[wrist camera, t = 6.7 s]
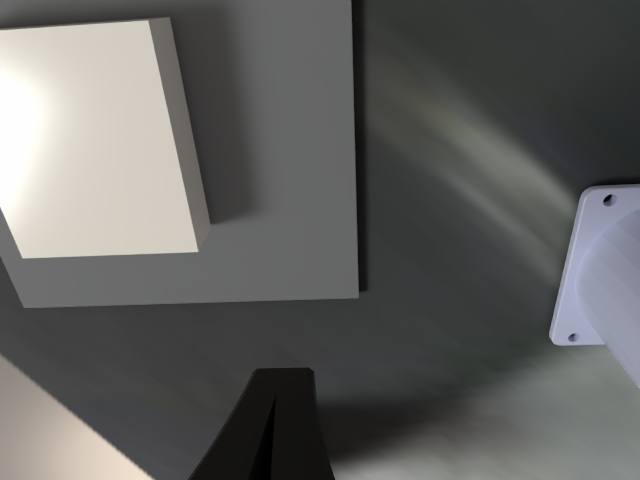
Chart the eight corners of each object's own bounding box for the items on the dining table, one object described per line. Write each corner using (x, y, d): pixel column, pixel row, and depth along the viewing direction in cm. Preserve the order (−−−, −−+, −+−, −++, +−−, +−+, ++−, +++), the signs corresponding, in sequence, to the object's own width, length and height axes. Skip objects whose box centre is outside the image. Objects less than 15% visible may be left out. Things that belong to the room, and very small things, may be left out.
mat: (347, -146, 14) (347, -150, 13) (358, 292, 21) (358, 298, 21) (-153, -102, 15) (-165, -105, 14) (29, 303, 22) (24, 307, 22)
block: (148, 20, 14) (-75, 35, 14) (198, 252, 17) (22, 258, 18) (171, 16, 16) (-24, 29, 16) (212, 225, 19) (53, 231, 20)
